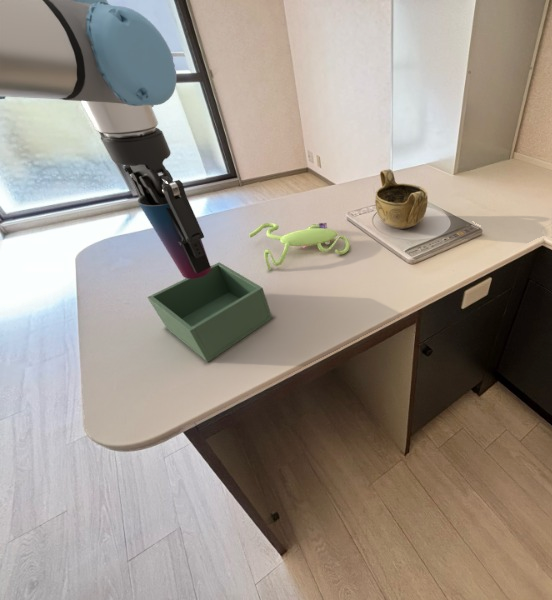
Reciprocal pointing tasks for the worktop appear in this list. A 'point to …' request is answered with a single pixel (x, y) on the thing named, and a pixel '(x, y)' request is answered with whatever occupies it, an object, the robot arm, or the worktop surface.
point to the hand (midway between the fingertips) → (192, 263)
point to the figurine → (302, 239)
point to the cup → (170, 237)
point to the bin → (212, 310)
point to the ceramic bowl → (400, 202)
